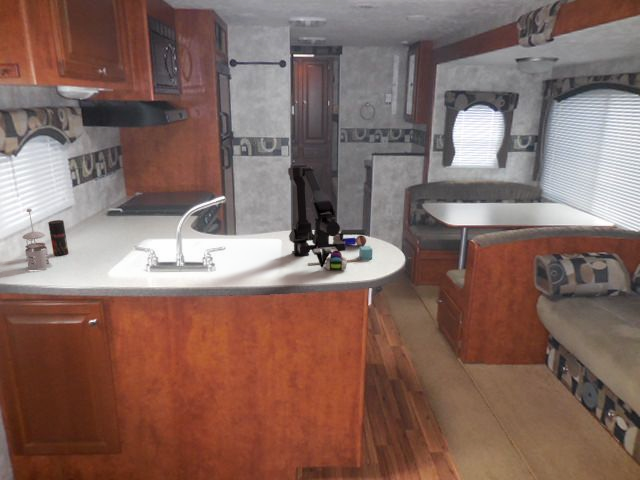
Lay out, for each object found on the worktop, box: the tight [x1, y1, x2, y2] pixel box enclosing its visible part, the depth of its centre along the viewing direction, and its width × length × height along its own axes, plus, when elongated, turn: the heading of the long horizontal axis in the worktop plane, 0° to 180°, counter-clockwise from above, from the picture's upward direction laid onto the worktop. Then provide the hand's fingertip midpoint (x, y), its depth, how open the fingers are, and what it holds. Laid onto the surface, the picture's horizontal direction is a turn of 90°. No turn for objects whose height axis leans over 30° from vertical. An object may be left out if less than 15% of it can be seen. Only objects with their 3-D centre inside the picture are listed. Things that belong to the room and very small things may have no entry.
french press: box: [22, 208, 53, 271], centre depth 204 cm, size 10×12×25 cm
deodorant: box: [48, 219, 69, 257], centre depth 221 cm, size 6×6×15 cm
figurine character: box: [332, 229, 367, 247], centre depth 233 cm, size 7×8×15 cm
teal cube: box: [358, 245, 373, 261], centre depth 216 cm, size 4×4×4 cm
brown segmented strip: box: [307, 258, 363, 266], centre depth 211 cm, size 2×23×1 cm, turn 104°
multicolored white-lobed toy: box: [324, 249, 348, 271], centre depth 203 cm, size 8×10×7 cm
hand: (321, 267), depth 202 cm, fingers closed
